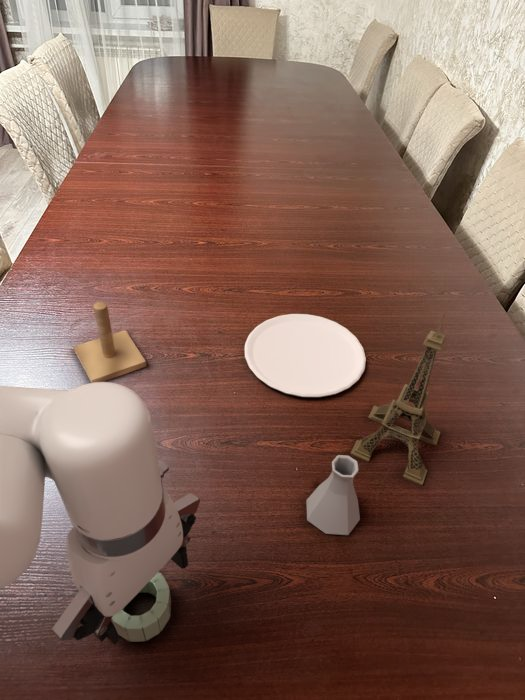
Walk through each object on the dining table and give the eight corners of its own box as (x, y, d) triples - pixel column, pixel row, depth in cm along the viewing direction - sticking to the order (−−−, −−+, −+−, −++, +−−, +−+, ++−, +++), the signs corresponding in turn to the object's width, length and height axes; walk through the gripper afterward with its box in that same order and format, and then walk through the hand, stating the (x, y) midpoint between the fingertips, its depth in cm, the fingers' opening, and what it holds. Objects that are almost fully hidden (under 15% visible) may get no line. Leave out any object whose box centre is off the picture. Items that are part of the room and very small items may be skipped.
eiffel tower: (373, 406, 82) (413, 273, 65) (439, 433, 79) (500, 301, 62) (350, 454, 75) (388, 319, 58) (421, 485, 72) (484, 352, 55)
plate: (381, 395, 84) (383, 390, 83) (253, 406, 81) (254, 401, 80) (345, 315, 99) (346, 309, 98) (236, 321, 96) (236, 316, 95)
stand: (92, 385, 82) (80, 331, 74) (74, 351, 87) (61, 297, 80) (146, 366, 86) (139, 313, 78) (126, 334, 91) (118, 282, 84)
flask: (353, 545, 65) (369, 501, 58) (298, 524, 66) (307, 480, 60) (365, 497, 70) (381, 452, 63) (313, 479, 71) (323, 433, 65)
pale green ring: (124, 654, 54) (120, 641, 52) (103, 599, 58) (98, 585, 56) (180, 620, 57) (179, 607, 55) (156, 571, 61) (154, 556, 58)
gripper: (162, 423, 50) (176, 515, 62) (-2, 559, 40) (51, 639, 52) (221, 465, 47) (224, 554, 59) (59, 624, 37) (101, 694, 48)
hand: (143, 594), depth 55 cm, fingers open, 9 cm apart
